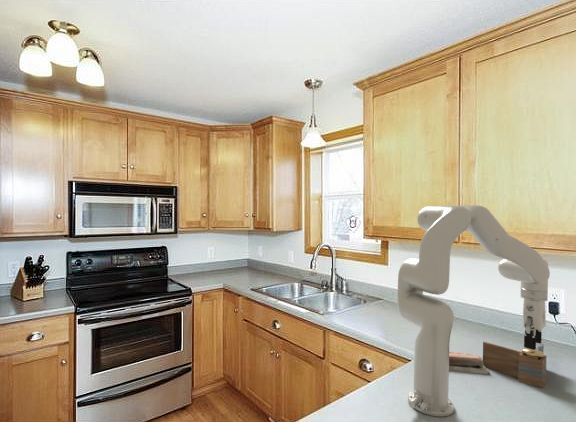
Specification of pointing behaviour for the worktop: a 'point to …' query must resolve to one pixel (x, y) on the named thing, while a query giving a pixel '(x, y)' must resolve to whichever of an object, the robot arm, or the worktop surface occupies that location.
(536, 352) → the hinge pin
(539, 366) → the hinge
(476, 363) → the packaged product
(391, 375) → the worktop surface
